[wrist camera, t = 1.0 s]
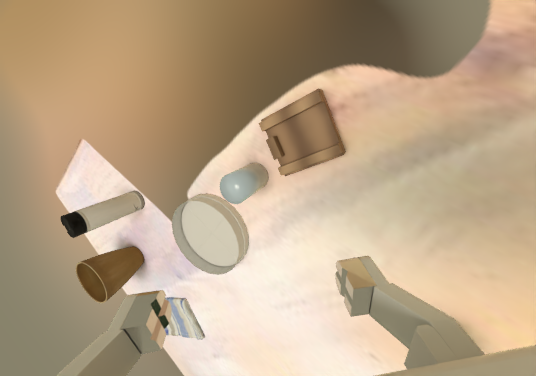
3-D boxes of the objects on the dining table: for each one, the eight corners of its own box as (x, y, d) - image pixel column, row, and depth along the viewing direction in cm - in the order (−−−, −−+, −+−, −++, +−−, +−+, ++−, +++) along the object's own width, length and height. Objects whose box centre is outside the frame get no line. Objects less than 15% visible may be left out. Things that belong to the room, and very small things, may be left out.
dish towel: (207, 335, 81) (202, 342, 79) (167, 330, 93) (162, 336, 90) (188, 296, 79) (182, 302, 76) (149, 296, 90) (143, 301, 88)
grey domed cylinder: (261, 159, 49) (238, 169, 40) (272, 183, 50) (251, 199, 41) (241, 168, 52) (215, 179, 43) (251, 191, 53) (228, 207, 44)
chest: (322, 89, 40) (316, 87, 35) (345, 151, 41) (342, 156, 37) (267, 119, 46) (256, 120, 41) (289, 172, 47) (281, 178, 43)
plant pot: (157, 269, 80) (113, 302, 66) (136, 273, 88) (92, 304, 74) (137, 233, 78) (87, 259, 65) (117, 240, 86) (69, 266, 72)
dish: (223, 276, 67) (212, 287, 63) (174, 224, 69) (161, 231, 65) (264, 237, 56) (255, 248, 52) (205, 176, 58) (192, 182, 53)
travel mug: (148, 205, 71) (76, 236, 54) (137, 210, 74) (66, 241, 57) (138, 188, 70) (62, 213, 53) (128, 193, 73) (53, 219, 56)
